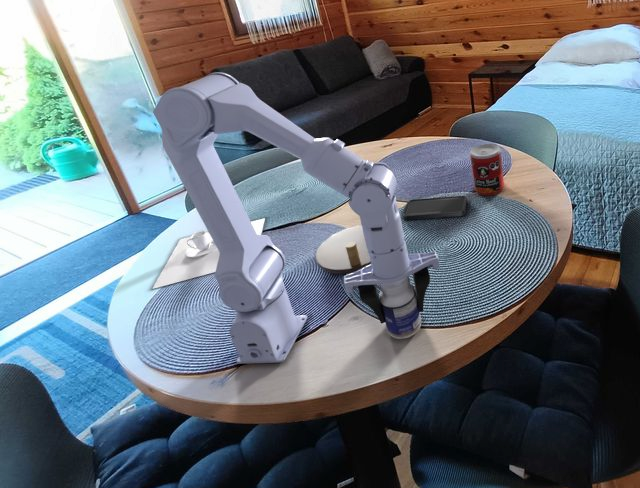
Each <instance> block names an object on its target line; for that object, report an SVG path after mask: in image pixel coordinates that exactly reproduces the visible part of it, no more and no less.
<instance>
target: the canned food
mask: <svg viewBox="0 0 640 488" xmlns="http://www.w3.org/2000/svg"><path fill="white" fill-rule="evenodd" d="M501 152H502V151H501V147H500V146H499V145H497V144H493V143H484V144H479V145H476V146H474V147H472V148H471V149H470V151H469V157H470V165H471V171H472V172H471V173H472V179H473V186H474V191H475V192H476V193H477V194H478V195H481V196H493V195H497V194H499V193H500V192H502V191H503V190H504V187H505V179H504V170H503V169H504V168H503V160H502V153H501Z"/></svg>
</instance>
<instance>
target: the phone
mask: <svg viewBox="0 0 640 488" xmlns="http://www.w3.org/2000/svg"><path fill="white" fill-rule="evenodd" d="M467 199H468V198H467V196H465V195H456V196H455V195H454V196H443V197H442V196H441V197H427V198H415V199H414V198H413V199H409V200H407V202H406V204H405V206H404V209H403V212H402V218H403V220H405V221H409V220H426V219H439V218H440V219H441V218H452V217H454V218H455V217H463V216H465V215H466V211H467V203H468V201H467Z"/></svg>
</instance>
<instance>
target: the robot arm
mask: <svg viewBox="0 0 640 488" xmlns="http://www.w3.org/2000/svg"><path fill="white" fill-rule="evenodd" d="M152 114H153V115H154V117H155V119H156V121H157V122H158V125H159V126H160V128H161V138H162V146H163V149H164V152H165V154H166V156H167V157H168V160H169V161H170V163H171V165H172V166H173V168H174V171H175V172H176V174H177V176H178V178H179V181H181V183H182V185H183V187H184V189H185V191H186V193H187V195H188V196H189V198H190V200H191V202H192V204H193V205H194V207H195V210H196V212H197V213H198V215H199V217H200V218H201V221H202V222H203V224H204V226H205V228H206V230H207V233H208V232H209V234H210V235H211V237H212V239H213V241H214V243H215V245H216V247H217V248H218V250H219V252H220V255H219V259H218V264H217V268H216V272H214V278H215V279H216V281H217V283H218V284H217V285H218V294H219V295H218V296H219V298H220V300H221V302H222V303H223V305H225V306H226V307H227V308H229V309H231V310H233V311H235V312H236V314H235V317H234V320H233V322H232V324H231V326H230V329H229V336H230V338H231V341H232V343H233V345H234V348H235V350H236V352H237V355H238V357H237V358H236V360H235V362H236V364H238V365H240V364H241V365H242V364H270V363H271V364H273V363H274V364H275V363H283V362H284V361H286V359H287V356H289V353H290V351H291V350H292V348H293V346H294V344H295V342H296V340H297V338H298V337H299V335H300V333H301V332H302V329H303V328H304V326H305V324H306V322H307V320H308V315H305V314H303V315H295V313H294V309H293V306H292V304H291V301H290V298H289V294H288V291H287V289H286V286H285V284H284V276H283V273H282V271H284V269H285V266H286V257H285V255H284V253H283V252H282V250H281V249H279V248H278V247H277V246H276V245H275V244H274V243H273V242H272V239H271V237H270V236H269V235H266V234H261V235H258V234H256V232H255V230H254V228H253V226H252V224H251V220H250V217H249V215H248V214H247V212H246V209H245V207H244V205H243V203H242V201H241V199H240V197H239V195H238V193H237V191H236V189H235V187H234V185H233V183H232V180H231V179H230V177H229V174H228V173H227V171H226V169H225V166H224V165H223V163H222V160H221V158H220V156H219V154H218V152H217V149H216V148H215V146H214V143H215V141H216V139H217V138H218V136H219V135H221V134H231V133H237V132H248V133H250V134H251V135H254V136H256V137H257V138H259V139H261V140H263V141H264V142H267V143H269V144H271V145H273V146H274V147H276V148H278V149H279V150H282V151H284V152H286V153H288V154H290V155H292V156H293V157H296V158H297V159H300V161H301V165H302V167H303V171H304V172H305V173H306V174H307V175H309V176H311V177H313V178H314V179H316V180H318V181H319V182H321V183H323V184H324V185H325V186H327V187H329V188H331V189H332V190H334V191H335V192H337V193H339V194H341V195H342V196H344V197H345V198H347V199H349V200H348V201H347V203H348V206H349V207H350V209H351V211H352V212H354V213H355V214H356V215H358V217H359V219H360V225H362V229H363V233H364V237H365V241H366V245H367V250H368V254H369V258H370V262H371V264H370V265H368V266H366V267H364V268H362V269H360V270H358V271H356V272H352V273H348V274H346V275H344V276H343V285H344V289H345V292H346V294H351V293H354V291H355V290H356V289H358V294H359V299H360V301H361V302H362V303H363V304H364V305H366V306H367V307H369V308H370V309H371V310H372V312H373V313H374V314H375V316H376V317H377V319H378V320H379V323H380V324H381V325H382V324H386V323H385V318H384V315H383V311H382V307H381V303H380V297H379V296H380V295H379V292H378V288H377V287H378V286H377V285H379V284H391V283H395V282H398V281H400V280H402V279H404V278H406V277H408V276H409V277H410V276H412V279H413V286H414V288H415V292H416V297H417V302H418V308H419V312H420V313H422V312H424V302H425V296H426V292H427V289H428V287H429V285H430V283H431V275H430V272H429V269H431V268H432V269H433V270H437V269H441V268H440V267H441V266H440V261H439V260H440V259H439V257H438V254H437V252H436V250H434V251H429V252H421V253H409V251H408V248H407V242H406V237H405V232H404V228H403V223H402V218H401V213H400V210H399V206H398V203H397V197H396V195H395V192H396V190H397V185H398V177H397V174H396V172H394V171H395V170H393V169H392V168H391V167H390V166H388V164H387V163H385V162H381V161H371V160H369V159H364V158H362V157H361V156H359V155H357V154H356V153H354V152H353V151H351V150H349V148H347V147H345V145H346V143H345V142H344V141H341V140H340V139H338V138H336V140H333V138H331V137H321V138H315V137H314V136H312V135H311V134H310V133H308V132H306V131H305V130H303V129H302V128H301V127H300V126H298V125H297V124H295V123H293V121H291V120H290V119H288V118H287V117H285V116H284V115H282V114H281V113H280V112H279V111H277V110H275V109H274V108H273V107H271V106H269V105H268V104H267V103H265V102H264V101H262V100H261V99H260V98H259V97H258V96H257V95H256V93H255V92H254V91H253V90H252V88H251V87H250V86H249V85H247V84H245V83H242V82H240V81H238V80H237V79H236V78H235V77H234V76H232V75H230V74H228V73H226V72H221V71H220V72H216V71H215V72H212V73H209V74H207V75H205V76H204V77H201V78H199V79H197V80H194V81H192V82H188V83H186V84H184V85H182V86H178V87H177V86H176V87H172V88H170V89H168V90H166V91H165V92H164V93H163V94H162V95H161V97H160V98H159V100H158V101H157V103H156V105H155V107H154V109H153V111H152Z"/></svg>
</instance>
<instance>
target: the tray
mask: <svg viewBox="0 0 640 488" xmlns="http://www.w3.org/2000/svg"><path fill="white" fill-rule="evenodd" d="M315 260H316V261H315V262H316V264H317V266H318V267H319V268H320V269H321V270H323V271H324V272H326V273H330V274H335V275H343V274H351V273H354V272H356V271H358V270H360V269H362V268H364V267H366V266H368V265H370V264H371V262H370V258H369V254H368V250H367V245H366V241H365V237H364V233H363V229H362V225H361V224H360V225H359V224H358V225H354V226H351V227H347V228H344V229H342V230H339V231H338V232H336V233H333V234H332V235H330V236H329V237H327V238H326V239H325V240H323V242H322V243H321V244H320V245H319V246H318V247H317V249H316V252H315Z"/></svg>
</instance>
